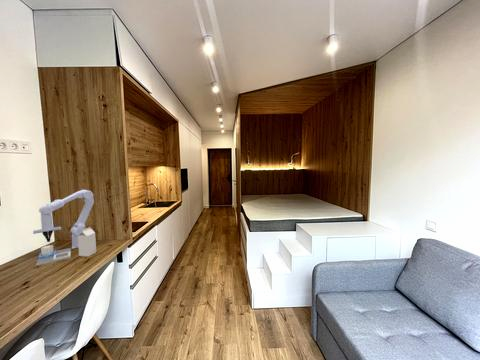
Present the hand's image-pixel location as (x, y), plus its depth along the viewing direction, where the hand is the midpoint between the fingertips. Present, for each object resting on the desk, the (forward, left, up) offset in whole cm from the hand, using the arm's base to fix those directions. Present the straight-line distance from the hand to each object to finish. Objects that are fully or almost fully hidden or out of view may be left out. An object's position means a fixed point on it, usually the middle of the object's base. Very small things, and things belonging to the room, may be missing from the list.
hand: (48, 241), depth 147 cm
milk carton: (-21, +17, -10) cm, 29 cm away
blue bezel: (+1, +2, -9) cm, 10 cm away
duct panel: (-3, +7, -9) cm, 12 cm away
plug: (+1, +2, -9) cm, 9 cm away
